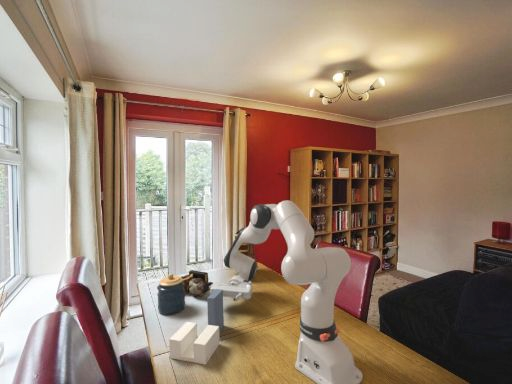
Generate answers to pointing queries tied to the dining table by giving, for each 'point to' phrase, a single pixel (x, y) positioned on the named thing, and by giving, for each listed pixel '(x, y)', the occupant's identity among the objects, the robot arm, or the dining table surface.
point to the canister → (171, 295)
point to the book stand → (194, 343)
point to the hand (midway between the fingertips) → (225, 298)
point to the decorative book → (246, 248)
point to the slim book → (215, 309)
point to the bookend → (196, 283)
